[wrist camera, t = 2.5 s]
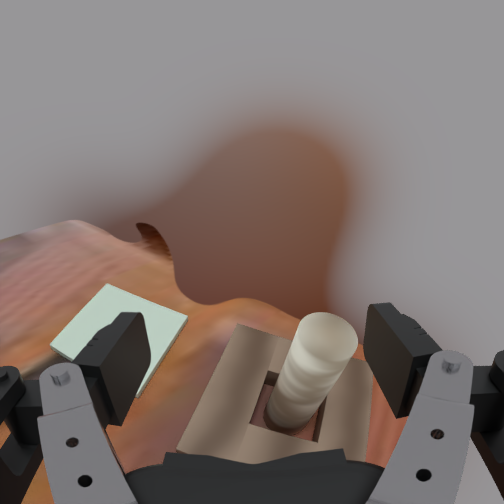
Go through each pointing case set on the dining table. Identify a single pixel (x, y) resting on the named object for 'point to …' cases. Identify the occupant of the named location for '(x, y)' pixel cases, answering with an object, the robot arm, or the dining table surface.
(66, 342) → the sage pad
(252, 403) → the board
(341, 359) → the maple peg
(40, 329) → the dining table surface
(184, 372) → the dining table surface
